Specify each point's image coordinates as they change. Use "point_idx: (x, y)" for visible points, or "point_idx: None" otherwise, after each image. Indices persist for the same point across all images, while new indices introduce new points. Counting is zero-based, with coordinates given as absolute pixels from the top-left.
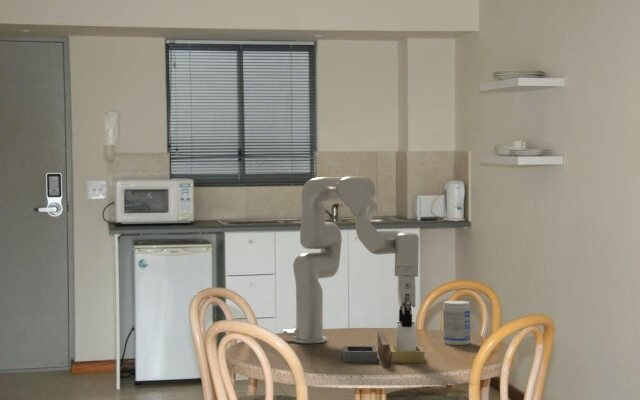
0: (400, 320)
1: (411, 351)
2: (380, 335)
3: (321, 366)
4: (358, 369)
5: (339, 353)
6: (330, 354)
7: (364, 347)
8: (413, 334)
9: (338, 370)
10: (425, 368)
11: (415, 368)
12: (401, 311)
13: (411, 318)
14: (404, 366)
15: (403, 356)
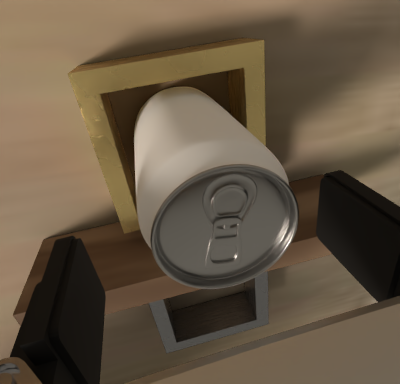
0: (102, 294)
1: (257, 115)
2: (139, 300)
3: (299, 321)
4: None
5: (110, 342)
6: (134, 353)
7: (164, 301)
8: (254, 136)
9: (349, 281)
10: (364, 27)
11: (357, 75)
12: (91, 370)
13: (393, 208)
14: (315, 123)
15: None
